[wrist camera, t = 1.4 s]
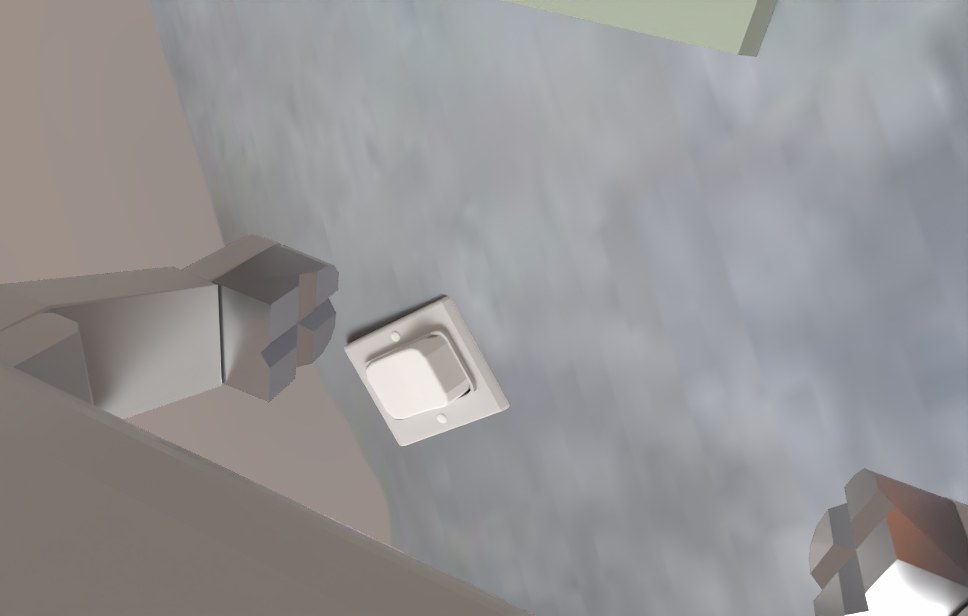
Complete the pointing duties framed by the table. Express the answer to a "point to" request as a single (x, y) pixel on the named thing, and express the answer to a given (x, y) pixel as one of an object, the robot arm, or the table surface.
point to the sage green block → (677, 19)
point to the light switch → (426, 373)
